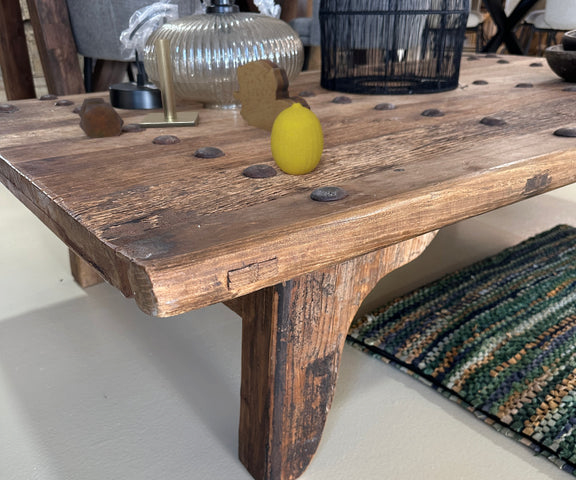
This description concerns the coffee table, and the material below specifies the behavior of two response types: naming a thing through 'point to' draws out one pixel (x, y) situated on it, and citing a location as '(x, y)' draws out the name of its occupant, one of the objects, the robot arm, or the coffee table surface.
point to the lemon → (297, 140)
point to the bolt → (99, 119)
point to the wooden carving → (264, 93)
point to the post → (168, 95)
